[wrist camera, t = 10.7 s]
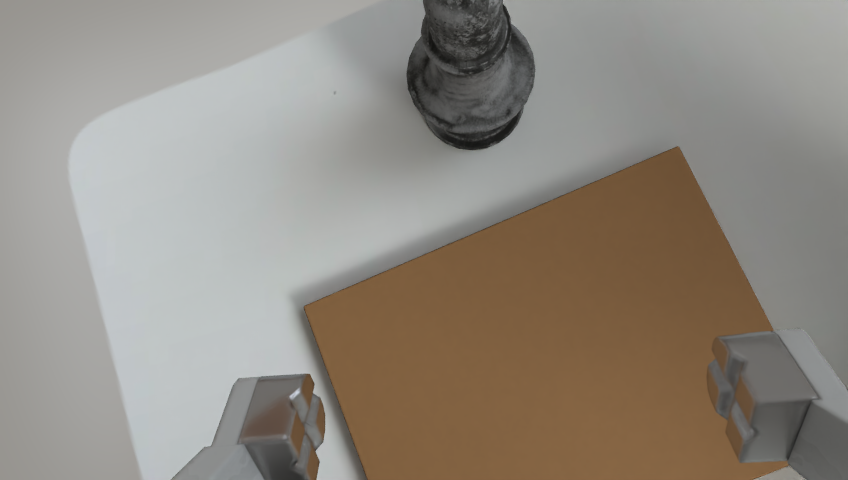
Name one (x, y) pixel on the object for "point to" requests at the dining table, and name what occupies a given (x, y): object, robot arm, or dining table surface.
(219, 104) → the dining table surface
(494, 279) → the cork mat
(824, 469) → the robot arm
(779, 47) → the dining table surface
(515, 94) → the stone finial
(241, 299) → the dining table surface
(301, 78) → the dining table surface
